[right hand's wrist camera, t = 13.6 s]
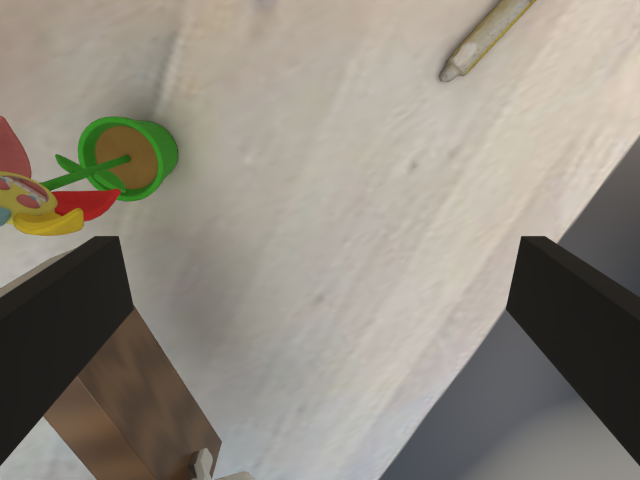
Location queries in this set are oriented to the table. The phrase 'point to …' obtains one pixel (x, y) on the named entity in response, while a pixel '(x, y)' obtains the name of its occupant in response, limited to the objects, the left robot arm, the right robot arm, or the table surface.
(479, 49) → the syringe
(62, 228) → the potted flower
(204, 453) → the left robot arm
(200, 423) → the bar
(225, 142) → the table surface
